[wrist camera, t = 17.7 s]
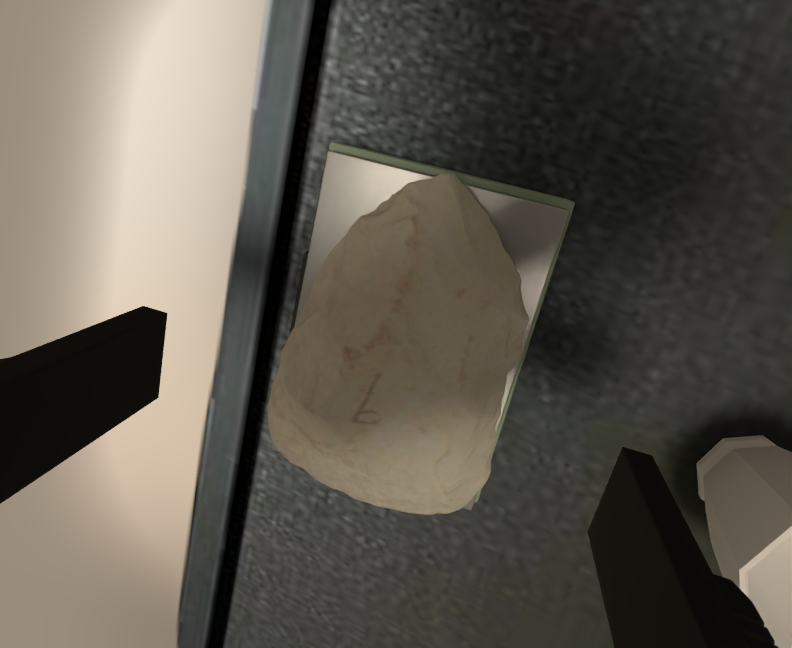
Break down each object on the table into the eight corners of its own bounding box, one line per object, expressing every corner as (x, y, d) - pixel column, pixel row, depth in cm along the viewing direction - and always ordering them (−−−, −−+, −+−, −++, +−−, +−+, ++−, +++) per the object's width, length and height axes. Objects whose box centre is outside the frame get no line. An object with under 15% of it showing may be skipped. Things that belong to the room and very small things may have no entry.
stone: (270, 429, 25) (217, 490, 20) (369, 136, 21) (330, 128, 16) (460, 512, 24) (451, 596, 20) (602, 229, 20) (633, 248, 15)
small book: (340, 142, 25) (311, 137, 21) (566, 198, 24) (580, 204, 20) (287, 413, 29) (255, 451, 25) (478, 470, 28) (476, 519, 24)
